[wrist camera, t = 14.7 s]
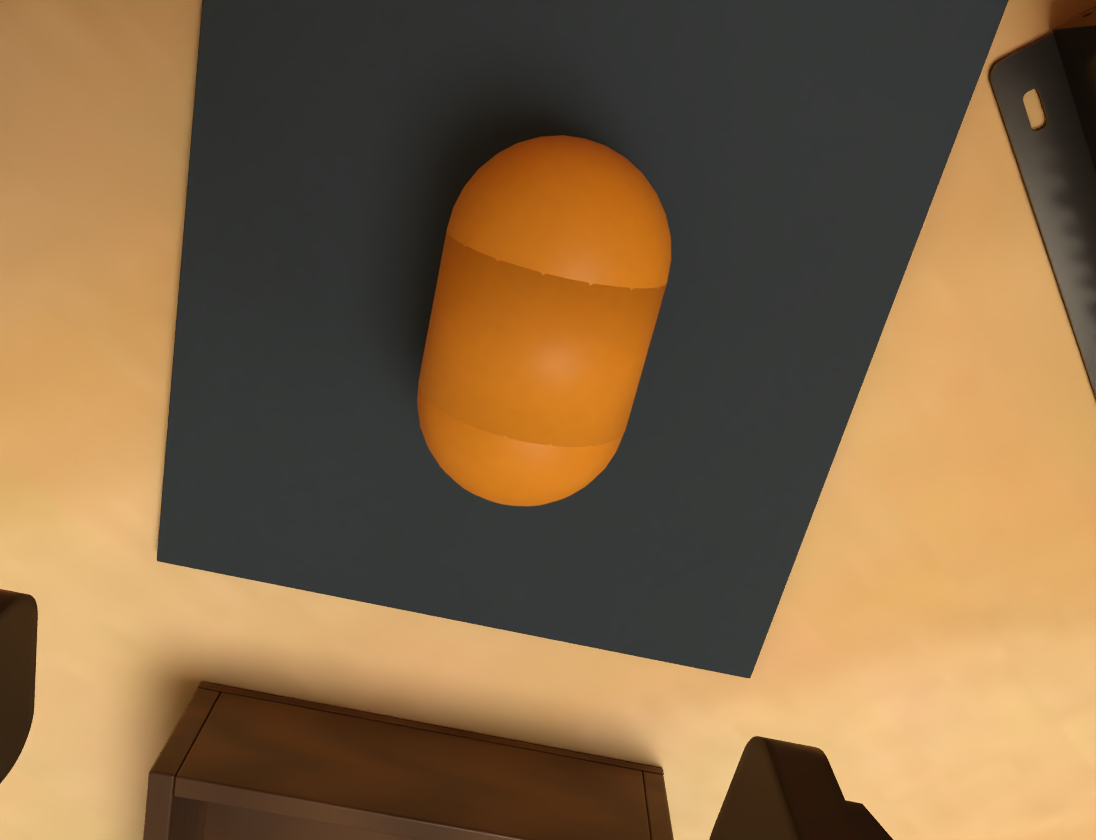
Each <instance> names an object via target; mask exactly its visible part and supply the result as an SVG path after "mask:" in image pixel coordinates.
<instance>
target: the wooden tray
mask: <svg viewBox="0 0 1096 840" xmlns="http://www.w3.org/2000/svg"><path fill="white" fill-rule="evenodd" d="M663 775H664V773H663V769H662V768H658V767H652V766H647V765H642V764H636V763H631V762H626V761H620V760H615V759H610V758H605V757H599V756H594V755H589V754H583V753H578V752H573V751H567V750H562V749H557V748H551V747H546V746H541V745H536V744H530V743H525V742H520V741H514V740H509V739H504V738H498V737H493V736H488V735H482V734H477V733H472V732H467V731H461V730H456V729H451V728H445V727H440V726H435V725H429V724H424V723H419V722H413V721H408V720H403V719H397V718H392V717H387V716H382V715H376V714H371V713H366V712H360V711H355V710H350V709H344V708H339V707H334V706H328V705H323V704H318V703H313V702H307V701H302V700H297V699H291V698H286V697H281V696H275V695H270V694H265V693H259V692H254V691H249V690H244V689H238V688H233V687H228V686H222V685H217V684H212V683H206V682H201V683H200V684H199V686H198V689H197V691H196V692H195V694H194V696H193V697H192V699H191V701H190V703H189V704H188V706H187V708H186V709H185V711H184V713H183V715H182V716H181V718H180V720H179V721H178V723H177V725H176V727H175V728H174V730H173V732H172V734H171V735H170V737H169V739H168V740H167V742H166V744H165V746H164V747H163V749H162V751H161V752H160V754H159V756H158V758H157V759H156V761H155V763H154V764H153V766H152V768H151V770H150V771H149V778H148V790H147V801H146V813H145V824H144V836H143V840H674V839H673V833H672V826H671V820H670V814H669V808H668V801H667V795H666V789H665V783H664V776H663Z"/></svg>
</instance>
